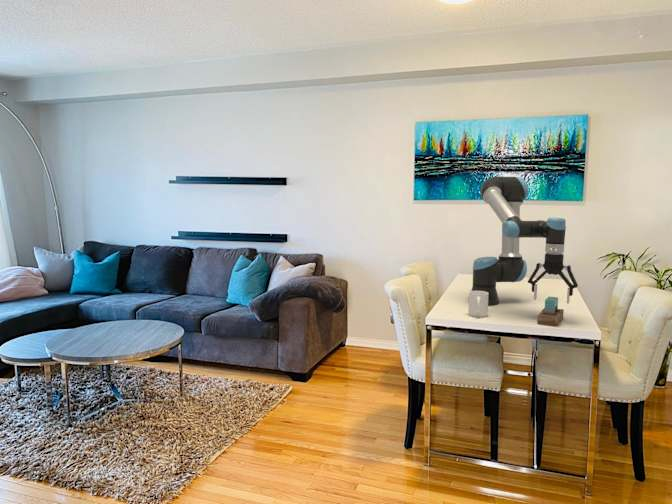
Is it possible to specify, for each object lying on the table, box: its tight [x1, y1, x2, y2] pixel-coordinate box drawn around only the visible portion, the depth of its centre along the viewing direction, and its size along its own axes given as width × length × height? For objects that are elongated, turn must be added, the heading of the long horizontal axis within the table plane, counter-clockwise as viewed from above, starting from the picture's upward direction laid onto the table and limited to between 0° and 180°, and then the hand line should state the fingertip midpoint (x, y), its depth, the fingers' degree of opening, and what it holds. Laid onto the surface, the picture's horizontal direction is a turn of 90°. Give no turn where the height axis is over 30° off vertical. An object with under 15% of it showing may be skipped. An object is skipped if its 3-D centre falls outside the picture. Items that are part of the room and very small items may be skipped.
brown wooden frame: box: [536, 307, 565, 327], centre depth 229 cm, size 18×8×4 cm, turn 149°
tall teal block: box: [544, 296, 559, 315], centre depth 228 cm, size 10×4×10 cm, turn 149°
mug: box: [468, 290, 489, 318], centre depth 237 cm, size 9×12×11 cm
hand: (551, 301), depth 228 cm, fingers open, 13 cm apart
